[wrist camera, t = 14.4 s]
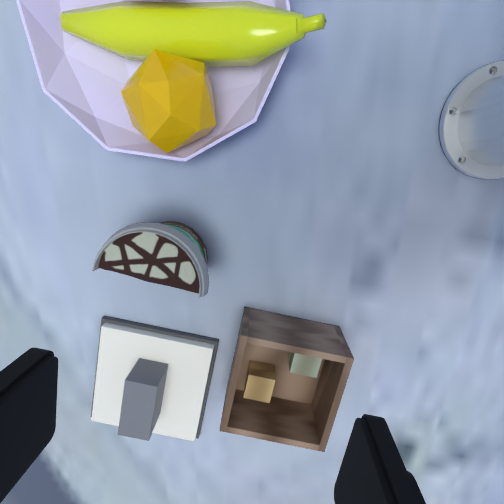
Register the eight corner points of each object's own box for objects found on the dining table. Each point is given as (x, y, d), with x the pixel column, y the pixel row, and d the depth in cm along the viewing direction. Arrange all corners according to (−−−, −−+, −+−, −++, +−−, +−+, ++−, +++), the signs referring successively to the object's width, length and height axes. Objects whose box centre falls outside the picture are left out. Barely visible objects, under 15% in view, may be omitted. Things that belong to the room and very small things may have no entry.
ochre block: (274, 364, 48) (275, 380, 45) (269, 386, 49) (269, 403, 45) (249, 359, 48) (248, 374, 45) (244, 381, 49) (243, 397, 45)
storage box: (339, 326, 47) (353, 358, 39) (315, 407, 50) (324, 452, 42) (244, 306, 47) (240, 335, 39) (226, 389, 50) (219, 430, 42)
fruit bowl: (27, 102, 41) (-59, 80, 30) (104, -159, 35) (32, -306, 24) (239, 207, 44) (231, 221, 33) (349, -22, 37) (384, -99, 26)
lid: (214, 344, 47) (207, 370, 41) (196, 435, 51) (187, 471, 45) (105, 322, 47) (82, 345, 41) (95, 414, 51) (72, 448, 45)
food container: (228, 226, 44) (218, 243, 34) (217, 271, 46) (204, 299, 36) (133, 201, 44) (95, 211, 34) (125, 246, 45) (87, 269, 36)
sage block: (319, 340, 47) (323, 353, 43) (312, 362, 48) (316, 377, 44) (293, 334, 47) (296, 348, 43) (287, 357, 48) (289, 372, 44)
